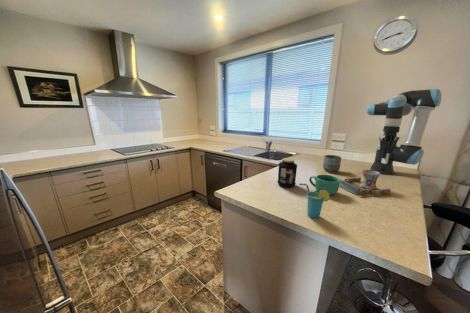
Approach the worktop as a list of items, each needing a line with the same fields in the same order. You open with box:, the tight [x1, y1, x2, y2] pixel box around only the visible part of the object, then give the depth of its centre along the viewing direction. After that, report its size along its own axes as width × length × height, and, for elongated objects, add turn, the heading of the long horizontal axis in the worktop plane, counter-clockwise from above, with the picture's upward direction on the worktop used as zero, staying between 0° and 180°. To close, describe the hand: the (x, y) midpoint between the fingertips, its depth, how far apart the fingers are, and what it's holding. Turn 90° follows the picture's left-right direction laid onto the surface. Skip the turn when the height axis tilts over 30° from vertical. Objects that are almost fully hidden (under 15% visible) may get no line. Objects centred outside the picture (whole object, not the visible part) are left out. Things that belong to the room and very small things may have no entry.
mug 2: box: [361, 169, 382, 190], centre depth 116 cm, size 12×9×11 cm
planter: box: [322, 154, 342, 174], centre depth 149 cm, size 12×12×13 cm
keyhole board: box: [338, 176, 392, 199], centre depth 116 cm, size 21×21×4 cm
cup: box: [298, 183, 331, 220], centre depth 84 cm, size 14×8×15 cm, turn 54°
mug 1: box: [309, 174, 340, 196], centre depth 111 cm, size 17×13×10 cm
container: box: [277, 157, 298, 188], centre depth 120 cm, size 12×12×18 cm
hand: (384, 163), depth 116 cm, fingers closed
